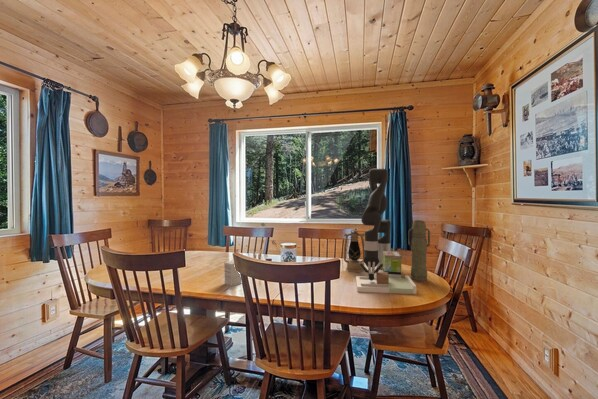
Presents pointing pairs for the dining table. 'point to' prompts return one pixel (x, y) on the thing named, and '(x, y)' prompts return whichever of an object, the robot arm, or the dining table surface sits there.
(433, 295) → the dining table surface
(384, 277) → the walnut block
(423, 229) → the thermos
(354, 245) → the lantern
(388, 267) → the tea box
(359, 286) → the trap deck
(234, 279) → the supplement box
